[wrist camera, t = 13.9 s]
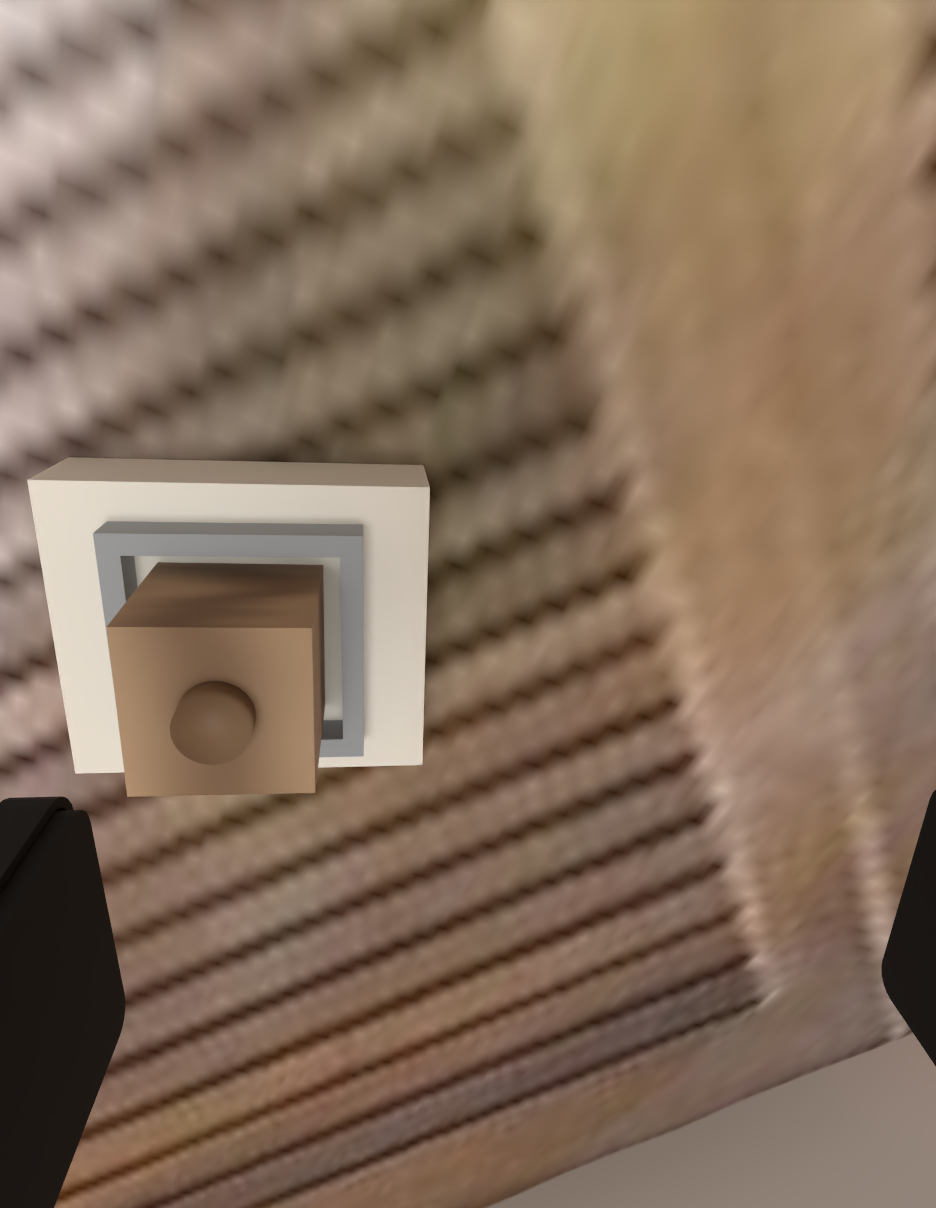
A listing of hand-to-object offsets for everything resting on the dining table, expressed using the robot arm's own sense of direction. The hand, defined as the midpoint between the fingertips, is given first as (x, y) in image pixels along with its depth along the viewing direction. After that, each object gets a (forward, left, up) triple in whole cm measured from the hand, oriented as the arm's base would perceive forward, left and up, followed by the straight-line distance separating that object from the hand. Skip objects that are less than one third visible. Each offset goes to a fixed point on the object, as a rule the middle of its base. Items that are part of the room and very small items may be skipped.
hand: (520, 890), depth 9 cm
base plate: (+7, +7, -26) cm, 27 cm away
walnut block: (+6, +7, -22) cm, 23 cm away
